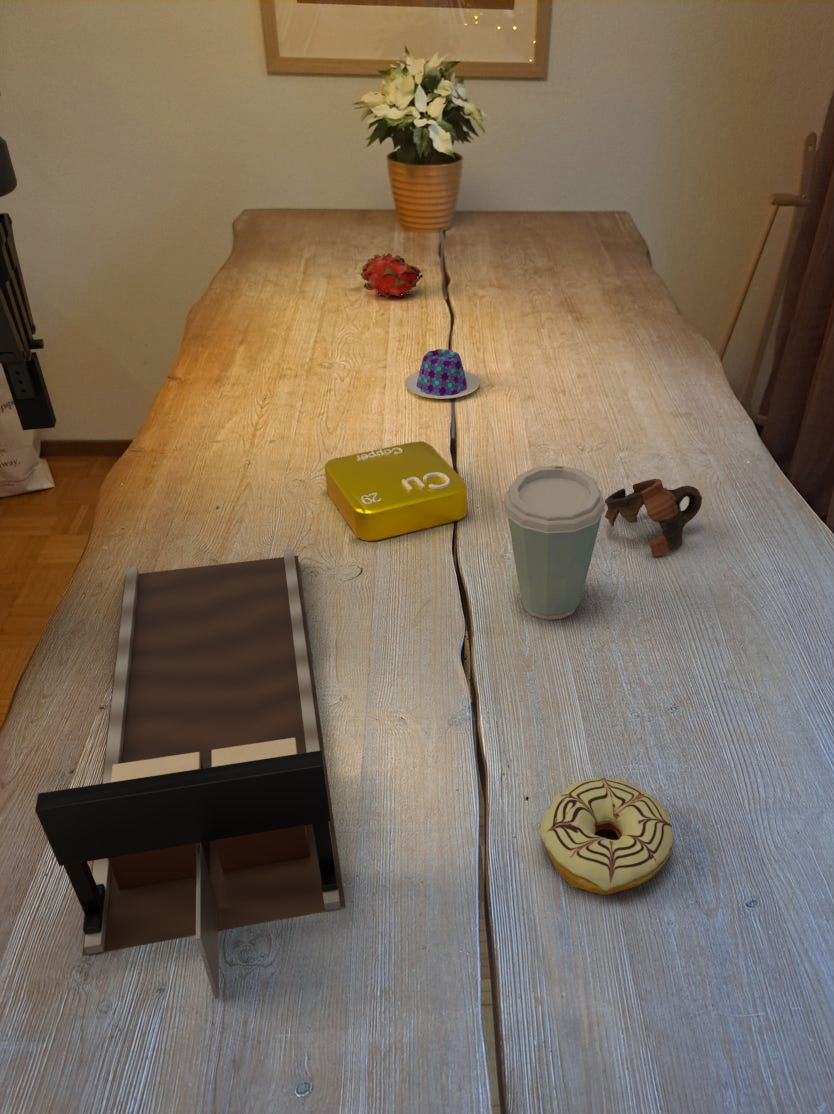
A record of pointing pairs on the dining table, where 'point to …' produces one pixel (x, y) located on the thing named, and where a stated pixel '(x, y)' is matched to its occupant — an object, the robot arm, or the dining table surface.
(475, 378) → the pudding
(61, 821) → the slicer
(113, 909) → the brown long flat board
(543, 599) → the disposable coffee cup
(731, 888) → the dining table surface
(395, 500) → the element tile
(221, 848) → the cake
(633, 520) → the pottery mug
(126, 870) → the cake
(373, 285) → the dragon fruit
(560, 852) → the decorated donut
